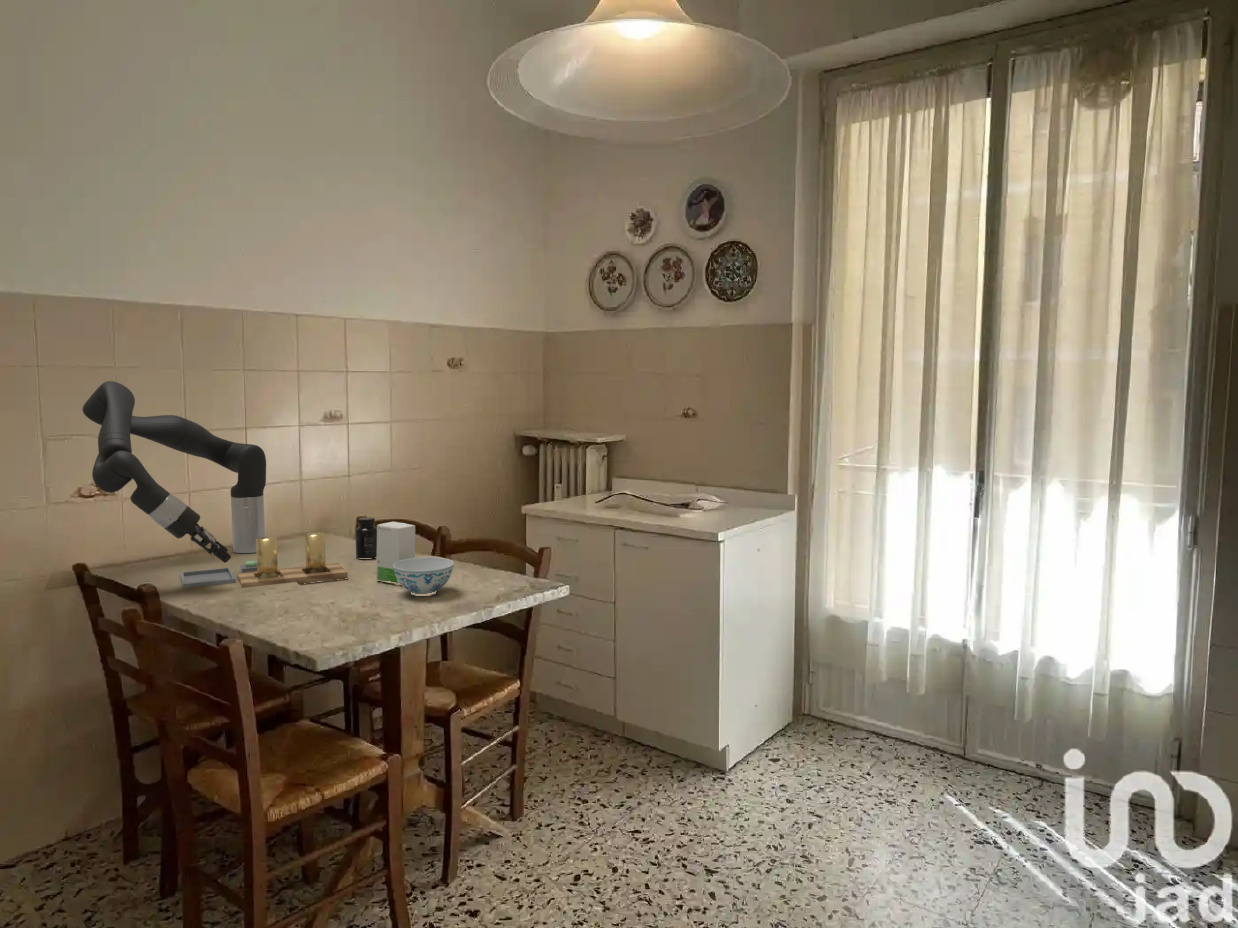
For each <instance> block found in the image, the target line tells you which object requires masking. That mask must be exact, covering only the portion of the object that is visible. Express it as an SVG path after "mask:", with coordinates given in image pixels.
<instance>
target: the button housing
mask: <svg viewBox="0 0 1238 928" xmlns="http://www.w3.org/2000/svg"><path fill="white" fill-rule="evenodd" d="M239 566H240V567H239V570H240V573H245V572H255V571H257V566H255V567H246V565H245V564H240V565H239Z"/></svg>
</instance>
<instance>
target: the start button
mask: <svg viewBox="0 0 1238 928" xmlns="http://www.w3.org/2000/svg"><path fill="white" fill-rule="evenodd" d="M244 565H246V567H255V566H257V560H247V561H245V563H244Z"/></svg>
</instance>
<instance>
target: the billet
mask: <svg viewBox="0 0 1238 928" xmlns="http://www.w3.org/2000/svg"><path fill="white" fill-rule="evenodd" d="M256 550H257V552H256V561H257V575H258V577H257V579H266V578H275V577H279V575H278V569H279V567H278V566H279V565H278V564H279V563H278V537H277V536H271V535H270V536H268V535H267V536H266V535H265V537H259V538H256Z"/></svg>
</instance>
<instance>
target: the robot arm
mask: <svg viewBox="0 0 1238 928" xmlns="http://www.w3.org/2000/svg"><path fill="white" fill-rule="evenodd" d="M135 400H136V398H135V395H134V393H133V392H132V391H131V389H129V388H128V387H127V386H125V385H123V384H122V383H120V382H117V381H115V380H109V381H104V382H102V384H100V385H99V386H98V387H97V389H96V390H94V391H93V393H92V394H91V395H90V396H89V398H88V399H87V400H86V402H85V403H84V404H83V405H82V413H83V414H84V416H85V417H86V418H88V419H89V420H90V421H92V422H94V423H96V424H98V425H100V430H99V432H98V437H97V449H98V450H97V451H98V454H97V456H96V459H95V461H94V465H93V468H92V472H91V473H92V474H91V476H92V480H93V483H94V484H95V486H96V487H97V488H99V490H101V491H103V492H105V493H110V494H112V493H116V492H118V491H120V490H122V489H123V488H124V487H125V486H127V484H129V483H130V481H131V482H132V480H133V481H134V483H135V485H136V488H135V489H134V491H133V493H132V494H131V495H130V498H129V499H130V502H131V503H132V504H134V506H136V507H137V508H138V509H140V510H141V511H142V512H143V513H145V514H147V515H148V516H149V517H150V518H151V519H152V520H153V521H154V522H155V523H156V524H158V525H159V526H160V527H162V528H163V529H164V530H166V531H167V532H168V533H170V534H171V535H172V536H174V537H175V538H176V539H182V538H183V537H185V536H186V535H188V536H190V537H189V538H190V541H191V542H193V543H194V544H196V545H197V546H199V548H201V549H202V550H204V551H205V552H207V553H208V554H210V555H214V557H216V558H217V559H219V560H220V561H222V562H223V563H228V562H229V560H231V558H232V556H231V554H229V553H228V551H229V550H228V548H227V547H225V545H223V544H222V543H220V542H219V541H218V540H217V538H216V537H214V535H213V533H211V532H210V531H209V530H207V528H206V527H204V526H202V525H199V524H198V523H199V521H200V519H201V515H200V514H199V513H198V512H196V511H195V510H194V509H192V508H191V507H190V506H189V505H187V504H186V503H184V502H183V501H182V499H179V498H178V497H176V496H175V495H173V494H171V493H170V492H169V491H168V490H166V489H165V488H164V487H163V486H161V485H160V484H159V483H158V482H156V481H155V479H154V477H153V476H152V475H151V474H150V473H149V472H148V470H147V469H146V467H144V465H143V463H142V462H141V461H140V459H139V458H138V457H137V456H136V455H135V454H133V453H132V452H133V450H132V449H133V448H132V442H131V435H134V436H137V437H141V438H144V439H146V440H150V441H152V442H154V443H157V444H160V445H162V446H165V447H167V448H170V449H173V450H175V451H178V452H181V453H184V454H188V455H191V456H193V457H196V458H197V457H198V458H202V459H206V460H209V461H211V462H213V463H215V464H217V465H219V466H221V467H223V468H225V469H227V470H229V471H230V472H233V473H236V474H237V483H236V484H235V485H232V487H231V488H230V507H231V531H232V552H233V553H235V554H236V553H237V554H253V553H257V550H256V538H259V537H266V530H265V529H266V527H265V526H266V524H265V501H264V497H265V496H264V490H265V487H266V484H267V458H266V453H265V451H264V450H263V448H262V447H260V446H259V445H257V444H251V443H239V442H234V441H230V440H227V439H224V438H221V437H219V436H216V435H214V433H211V432H210V431H209V430H208V429H206V428H205V427H204V426H202V425H200V424H199V423H197V422H195V421H192V420H190V419H187V418H184V417H182V416H179V415H172V414H166V415H164V414H163V415H162V414H161V415H150V416H136V415H133V412H134V409H135V402H136V401H135Z"/></svg>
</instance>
